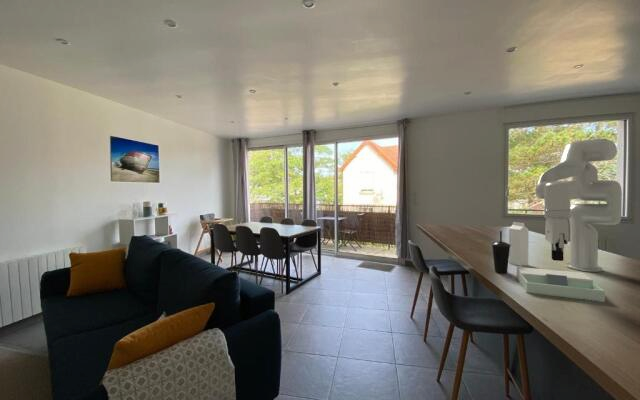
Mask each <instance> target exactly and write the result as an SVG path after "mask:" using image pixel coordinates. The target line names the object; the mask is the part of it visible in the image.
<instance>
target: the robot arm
mask: <svg viewBox="0 0 640 400" xmlns="http://www.w3.org/2000/svg"><path fill="white" fill-rule="evenodd" d="M617 152H618V149H617V145H616V144H615V142H614V141H613V140H610V139H608V138H594V139H585V140H577V141H571V142H569V143H568V144H566V145H565V146H564V148H563V151H562V154H561V157H560V158H559V162H558V163H557V164H555V165H553V166H552V167H550V168H549V169H547V170H546V171H544V172H542V174H541V175H540V177H539V178H538V180H537V183H536V187H535V195H536V196H537V198H538V199H540V200H544V203H543V204H544V211H543V212H544V219H545V227H544V229H545V231H544V238H545V240H546V241H547V242H549V243H550V246H551V247H550V248H551V260H553V261H557V262H559V261H560V262H564V249H565V245H568V244H569V243H570V244H569V261H568V262H566V263H565V266H566V268H569V269H572V270H575V271H579V272H589V273H590V272H591V273H598V272H602V271H603V267H601V266H599V263H598V262H599V232H598V231H597V229H596V228H595V227H593V226H592V225H606V226H608V225H609V226H610V225H611V226H615V225H618V224H620V223H621V220H622V209H623V208H622V206H623V205H622V200H623V198H622V195H623V191H622V186H621V184H620V183H619V182H618V181H616V180H611V179H610V180H609V179H608V180H599V179H598V174H599V173H598V169H597V168H596V166H595V165H593V164H592V163H591V162H605V161H608V162H609V161H611V160H614V159H615V157H616V155H617ZM569 178H572V180H565V179H569ZM572 200H577V201H583V203H574V204H572V205H571V201H572ZM584 201H587V202H591V201H592V202H605V203H606V204H605V203H585V202H584ZM568 220H569V222H568ZM569 228H570V229H569ZM569 234H570V235H569ZM569 240H570V241H569Z"/></svg>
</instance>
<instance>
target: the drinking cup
mask: <svg viewBox="0 0 640 400" xmlns="http://www.w3.org/2000/svg"><path fill="white" fill-rule="evenodd" d="M502 232H503V231H502V230H500V231H499V241H497V240H496V241H494V242H491V248H492V257H493V266H494V272H495V273H497V274H508V267H509V251H510V246H511V245H510V244H509V242H506V241H503V234H502Z"/></svg>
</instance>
